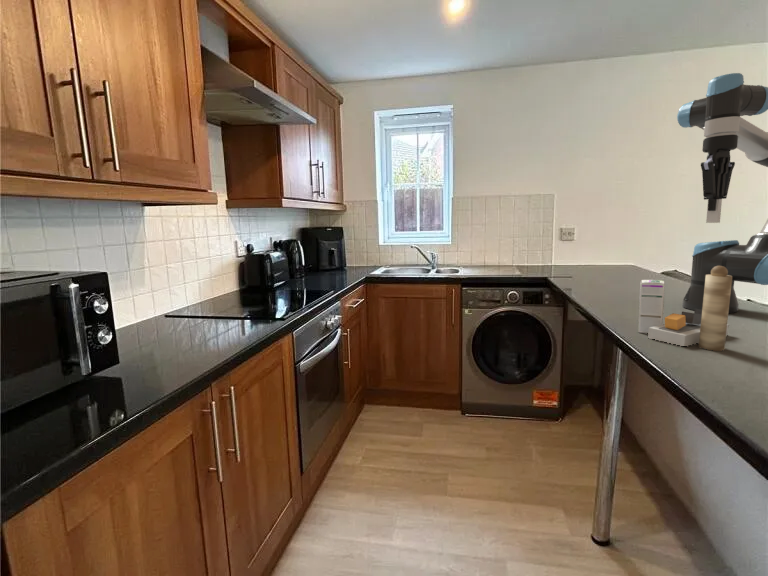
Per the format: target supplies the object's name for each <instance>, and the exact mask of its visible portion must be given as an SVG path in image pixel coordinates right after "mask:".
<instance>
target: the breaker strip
mask: <svg viewBox="0 0 768 576" xmlns="http://www.w3.org/2000/svg"><path fill="white" fill-rule="evenodd" d="M700 327H701V321H700V325H696V324H690V323H686V326H684V327H682V328H680V329H678V330H674V329H670V328H665V323H664V324H663V323H662V325H658V326H654V327H649V330H648V334H647V339H648V338H649V339H648V340H652V339H655V340H654V341H656V340H659V341H658V342H660V341H664V342H667V343H666V344H669V343H671V344H670V345H673V344H676V345H675V346H677V345H680V346H679V347H681V346H687V347H689V346H688V345H691V346H693V345H692V344H694V345H697V344H696V343H698V344H699V337H700ZM729 329H730V324H729V323H727V330H726V337H727V335H728V336H729V331H730V330H729ZM664 342H663V343H664Z"/></svg>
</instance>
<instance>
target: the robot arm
mask: <svg viewBox="0 0 768 576" xmlns="http://www.w3.org/2000/svg"><path fill="white" fill-rule="evenodd" d="M744 79H745V78H744V75H743V73H741V72H733V73H732V72H731V73H727V74H721V75H719V76H716V77H714V78H712V79H710V80H709V81H708V85H707V90H706V95H705V97H703V98H699V99H693V100H692V101H689V102H687V103H684V104H683V105H682V106H680V107H679V109H678V111H677V115H676V119H677V123H678V125H679V126H681V128H685V129H686V128H693V127H697V128H699V129H702V130H703V137H705V138H704V139H703V140H702V150H701V151H702V152H703V153H704V154H705V153H707V156H706V160H705V161H704V162H701V163H700V167H701V168H700V169H701V173H702V192H703V193H702V194H703V200H704V201H705V200H707V209H706V220H705V221H706V222H705V223H706V224H708V223H709V224H715V223H716V224H717V223H719V224H720V223H721V217H722V213H721V212H722V206H723V205H722V203H723V199H724V200H725V199H727V196H728V192H729V187H730V183H731V178H732V174H733V170H734V167H735V165H736V163H735V161H731V151H734V150H736V149H738V150H739V151H741V152H743V153H744V154H745V157H746V158H747V159H748V160H749V161H752V162H753V163H755V164H758V165H761V166H762V167H763V166H764V167H766V168H768V132H767V131H765V130H764V129H761V128H760V127H758V126H756V125H755V124H753V123H752V122H751V121H748V120H746V119H744V118H743V117H742V116H749V117H752V116H758V115H761V114H764V113H765V112H767V111H768V86H763V85H762V84H761V85H760V84H758V85H753V84H744V83H745V81H744ZM692 252H693V253H692V255H691V256H692V263H691V273H690V274H691V276H690V285H689V287H688V290H687V291H686V293H685V296H684V297H683V299H682V308H685V309H688V310H691V311H695V309H700V310H702V307H703V297H704V287H705V277H706V275H707V274H711V270H712V268H713V267H715V266H724V267H725V268H726V269H727V270H728V274H727V275H730V276H732V285H731V294H730V303H729V312H728V314H731V313H736V312H739V307H740V306H739V301H738V298H737V293H736V291H735V282H742V283H750V284H757V285H761V286H768V218H767V219H766V221H765V223H764V225H763V227H762V228H761V230H760V232H759V233H755V234H753V235H751V236H750V238H749V239H748V241H747V243H746V244H740V242H739V240H736V239H735V240H734V239H733V240H732V239H731V240H721V241H720V240H719V241H707V242H699V243H697V244H696V245H694V248H693V251H692Z"/></svg>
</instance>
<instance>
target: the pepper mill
mask: <svg viewBox="0 0 768 576" xmlns="http://www.w3.org/2000/svg"><path fill="white" fill-rule="evenodd" d="M727 274H728V270H727V269H726V268H725V267H724V266H715V267H713V268H712V270H711V274H707V275H706V277H705V287H704V297H703V307H702V317H701V327H700V337H699V343H698V348H700V347H701V348H700V349H702V348H704V349H703V350H706V349H707V350H706V351H711V350H713V352H714V351H715V352H723V351H725V348H726V337H727V336H726V330H727V324H728V320H729V313H728V312H729V303H730V294H731V285H732V276H730V275H727ZM722 350H723V351H722Z"/></svg>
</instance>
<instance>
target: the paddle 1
mask: <svg viewBox="0 0 768 576" xmlns="http://www.w3.org/2000/svg"><path fill="white" fill-rule="evenodd" d="M664 324H665V328H670V329H674V330H678V329H680V328H682V327H684V326H686V319H685V315H681V314H680V313H671V314H669V315H668V316H665V317H664Z"/></svg>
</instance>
